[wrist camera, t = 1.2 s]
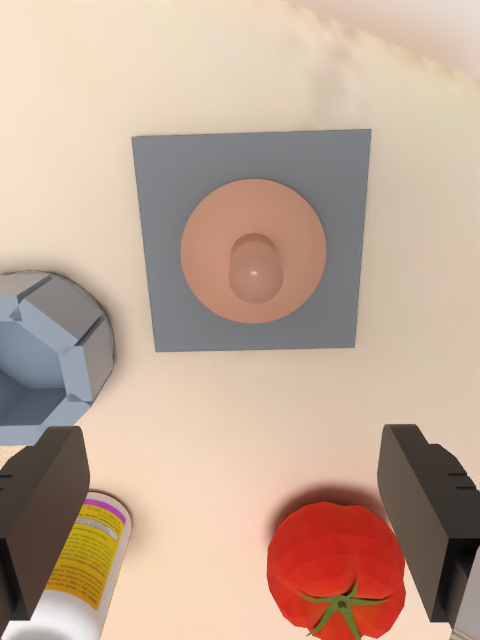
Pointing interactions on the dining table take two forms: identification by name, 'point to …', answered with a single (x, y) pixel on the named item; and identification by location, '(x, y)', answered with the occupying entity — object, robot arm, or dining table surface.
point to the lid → (253, 250)
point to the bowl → (49, 354)
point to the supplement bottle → (81, 576)
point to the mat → (242, 163)
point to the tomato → (337, 571)
